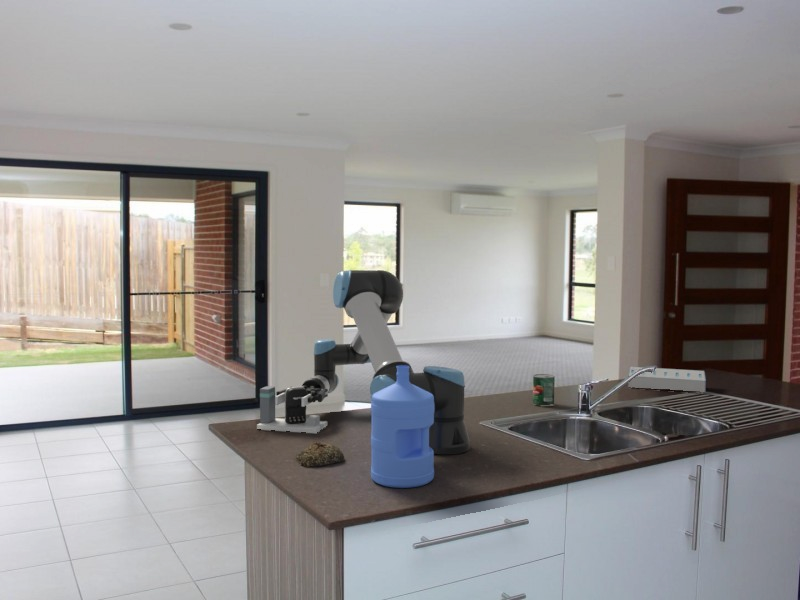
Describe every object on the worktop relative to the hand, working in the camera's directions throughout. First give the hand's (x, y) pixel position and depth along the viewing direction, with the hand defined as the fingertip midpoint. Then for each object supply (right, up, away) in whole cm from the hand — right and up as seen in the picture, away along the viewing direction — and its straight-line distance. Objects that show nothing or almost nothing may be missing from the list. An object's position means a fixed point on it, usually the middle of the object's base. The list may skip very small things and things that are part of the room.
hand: (289, 401), depth 216 cm
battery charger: (+1, -8, +5) cm, 9 cm away
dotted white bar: (+147, -6, +77) cm, 166 cm away
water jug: (+35, -13, -45) cm, 59 cm away
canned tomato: (+88, -8, +42) cm, 98 cm away
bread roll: (+13, -12, -29) cm, 34 cm away
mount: (0, -9, +5) cm, 11 cm away
